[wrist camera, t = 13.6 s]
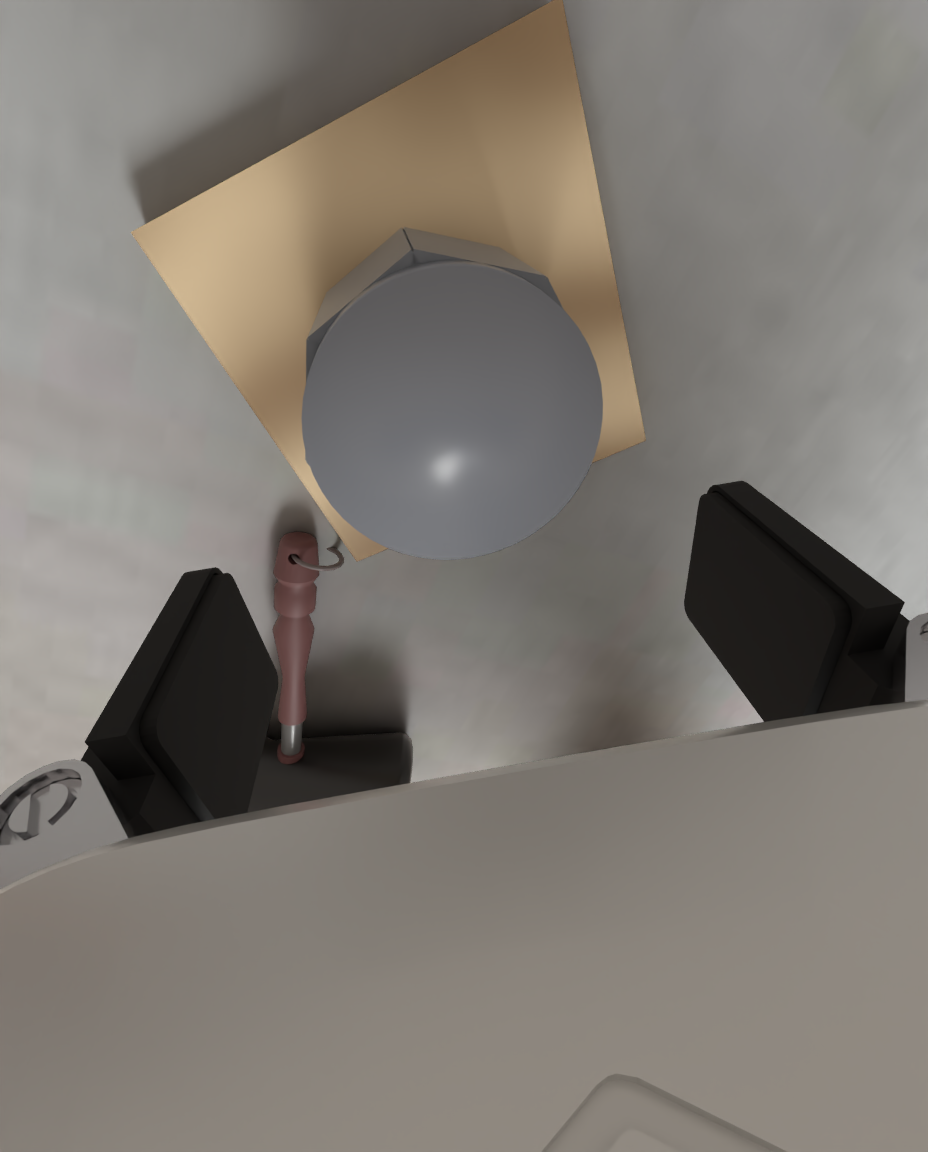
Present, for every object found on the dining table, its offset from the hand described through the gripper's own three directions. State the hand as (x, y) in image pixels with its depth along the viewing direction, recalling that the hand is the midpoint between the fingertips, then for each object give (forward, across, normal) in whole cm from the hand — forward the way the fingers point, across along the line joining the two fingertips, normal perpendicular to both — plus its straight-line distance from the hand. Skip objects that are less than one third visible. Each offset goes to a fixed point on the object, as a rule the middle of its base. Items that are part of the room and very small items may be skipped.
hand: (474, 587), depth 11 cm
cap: (+8, 0, -3) cm, 9 cm away
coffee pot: (+12, +7, +13) cm, 19 cm away
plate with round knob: (+10, 0, -3) cm, 11 cm away
